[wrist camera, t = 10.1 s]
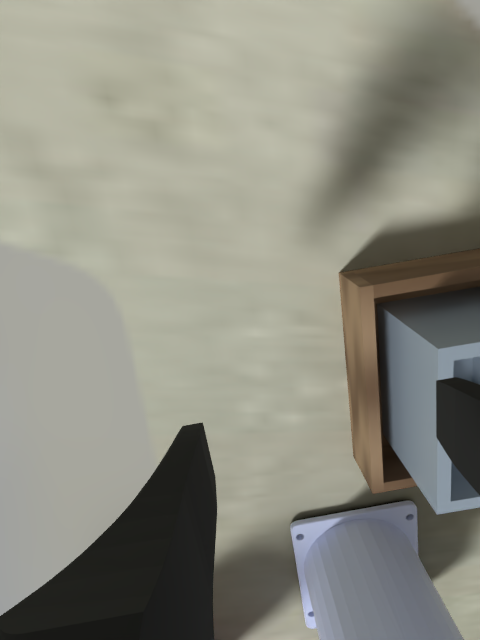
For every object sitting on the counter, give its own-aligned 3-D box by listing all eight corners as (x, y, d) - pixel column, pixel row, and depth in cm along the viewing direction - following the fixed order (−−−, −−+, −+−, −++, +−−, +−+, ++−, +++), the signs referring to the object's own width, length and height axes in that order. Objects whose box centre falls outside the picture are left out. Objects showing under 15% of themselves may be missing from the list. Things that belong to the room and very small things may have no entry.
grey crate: (474, 418, 23) (557, 494, 18) (383, 433, 23) (436, 514, 18) (480, 286, 21) (580, 325, 15) (377, 303, 21) (438, 349, 15)
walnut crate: (495, 426, 25) (539, 464, 21) (351, 452, 24) (373, 493, 21) (506, 241, 21) (561, 252, 18) (336, 271, 21) (359, 287, 17)
